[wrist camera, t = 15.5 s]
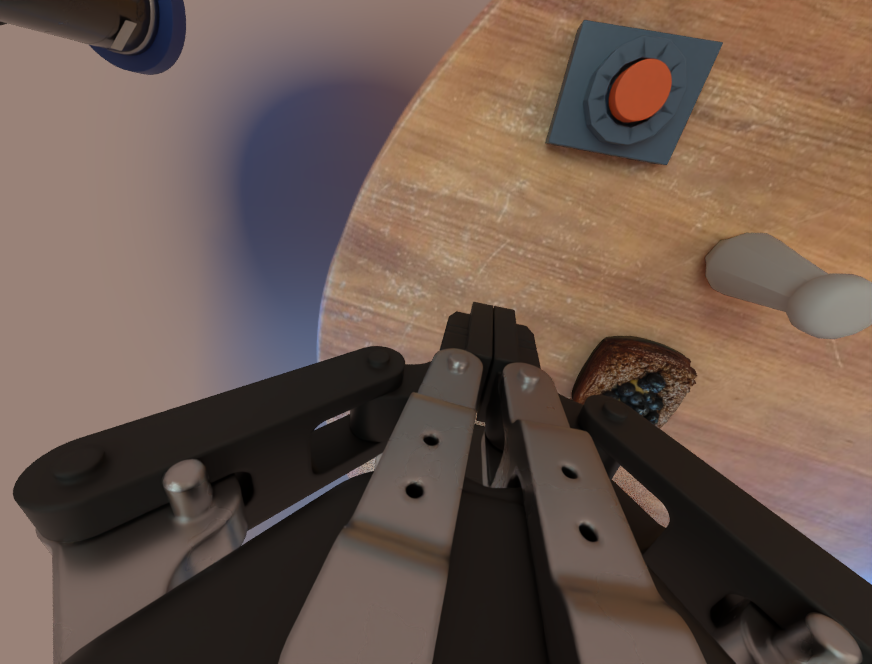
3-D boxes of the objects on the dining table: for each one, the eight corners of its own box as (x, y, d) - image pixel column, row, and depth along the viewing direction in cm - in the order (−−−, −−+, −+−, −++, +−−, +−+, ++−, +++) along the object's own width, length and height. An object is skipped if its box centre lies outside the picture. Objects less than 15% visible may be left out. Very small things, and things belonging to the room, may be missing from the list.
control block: (545, 143, 31) (550, 142, 27) (577, 28, 27) (589, 10, 23) (656, 164, 30) (677, 166, 26) (707, 50, 26) (739, 34, 22)
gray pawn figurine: (739, 292, 34) (858, 364, 23) (682, 278, 34) (772, 342, 23) (780, 235, 31) (941, 284, 20) (717, 220, 31) (841, 260, 20)
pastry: (698, 350, 37) (730, 382, 32) (646, 426, 43) (665, 463, 38) (600, 326, 38) (615, 354, 33) (561, 405, 44) (569, 439, 39)
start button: (600, 118, 26) (606, 116, 25) (620, 60, 24) (628, 54, 23) (647, 126, 26) (656, 125, 24) (671, 68, 24) (682, 63, 23)
